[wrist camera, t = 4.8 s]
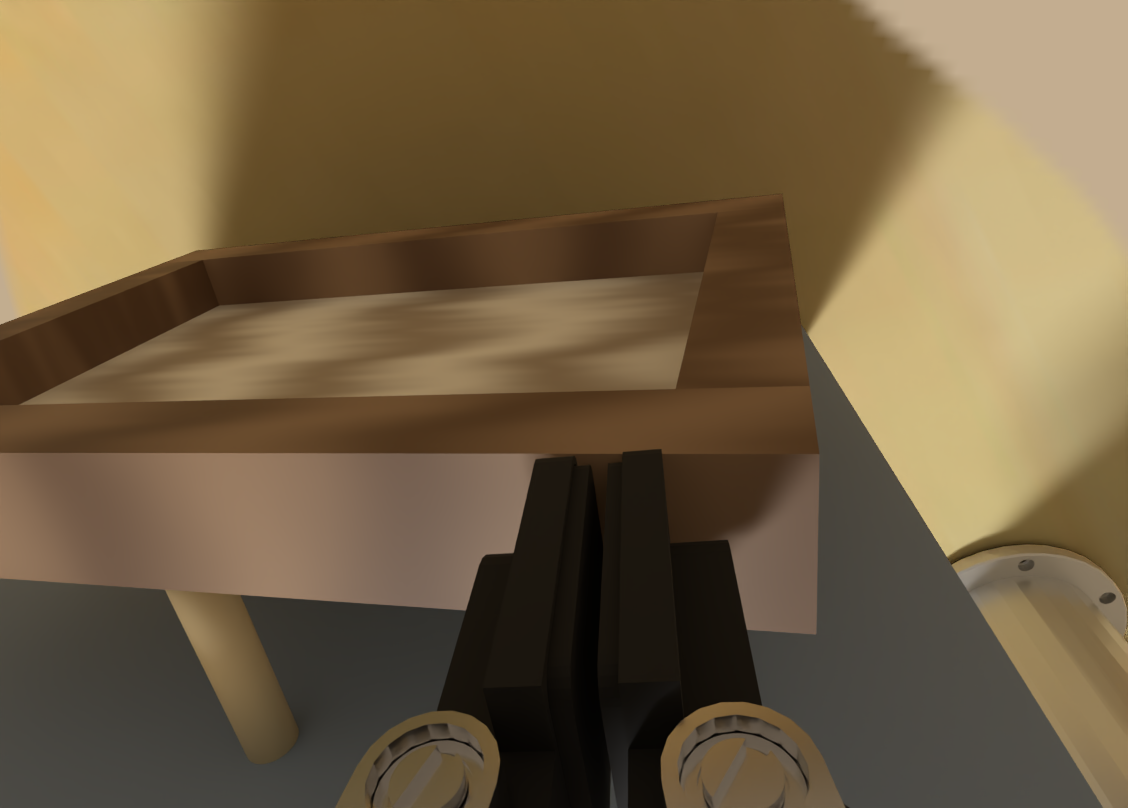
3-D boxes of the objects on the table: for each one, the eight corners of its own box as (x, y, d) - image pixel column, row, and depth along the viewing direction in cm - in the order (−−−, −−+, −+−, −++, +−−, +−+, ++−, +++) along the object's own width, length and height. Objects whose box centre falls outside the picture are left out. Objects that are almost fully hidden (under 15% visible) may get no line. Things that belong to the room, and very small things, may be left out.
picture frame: (782, 193, 23) (819, 454, 9) (782, 280, 25) (816, 634, 10) (196, 250, 30) (-338, 452, 15) (220, 317, 31) (-252, 561, 17)
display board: (796, 216, 34) (1376, 784, 8) (796, 352, 37) (1207, 1100, 11) (166, 292, 39) (-849, 803, 12) (212, 407, 42) (-521, 1016, 15)
